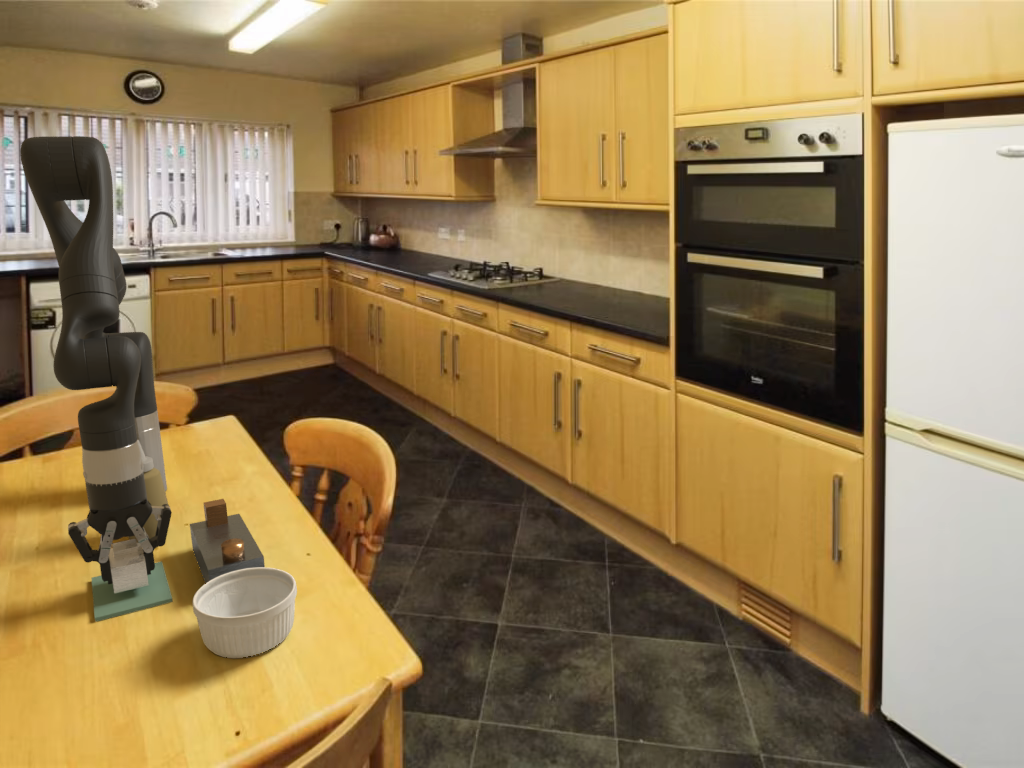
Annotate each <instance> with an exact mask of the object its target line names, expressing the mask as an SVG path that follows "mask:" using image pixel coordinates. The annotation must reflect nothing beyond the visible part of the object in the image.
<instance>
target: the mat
mask: <svg viewBox="0 0 1024 768" xmlns="http://www.w3.org/2000/svg"><path fill="white" fill-rule="evenodd" d="M147 577H148V584H149V585H147V586H143V587H139V588H135V589H131V590H127V591H123V592H119V593H115V594H114V587H113V584H109V585H108V581H105V582H104V581H103V580H102V576H101V575H98V576H93V577H91V590H92V591H91V592H92V600H93V601H92V602H93V613H94V614H93V615H94V622H95V623H96V622H101V621H105V620H108V619H112V618H117V617H119V616H123V615H128V614H131V613H135V612H139V611H143V610H147V609H150V608H154V607H158V606H162V605H165V604H168V603H169V604H170V603H172V602H173V596H172V592H171V588H170V585H169V581H168V579H167V574H166V572H165V566H164V564H163V561H162V560H161V561H157V562H155V568H154V570H151V574H150V575H147ZM173 603H174V602H173ZM146 608H147V609H146Z"/></svg>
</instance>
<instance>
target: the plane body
mask: <svg viewBox="0 0 1024 768" xmlns="http://www.w3.org/2000/svg"><path fill="white" fill-rule="evenodd" d="M203 510H204V512H203V513H204V520H202V521H197V522H192V523H189V529H190V538H191V546H192V552H193V551H194V552H193V555H194V554H195V555H194V558H195V557H196V558H195V560H196V563H197V562H198V563H197V566H198V565H199V566H198V568H199V567H200V568H199V571H200V570H201V571H200V573H202V574H201V576H202V575H203V576H202V579H203V578H204V579H203V581H205V582H204V584H205V583H207V582H209V581H210V580H212V579H214V578H216V577H218V576H221V575H223V574H226V573H229V572H232V571H236V570H241V569H246V568H256V567H266V565H265V556H264V554H263V552H262V551H261V549H260V547H259V545H258V544H257V542H256V539H254V537H253V535H252V533H251V531H250V530H249V528H248V527H247V525H246V522H244V519H243V517H242V516H241V513H236V514H231V515H228V510H227V502H226V500H225V499H224V498H220V499H215V500H210V501H204V502H203Z"/></svg>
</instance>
